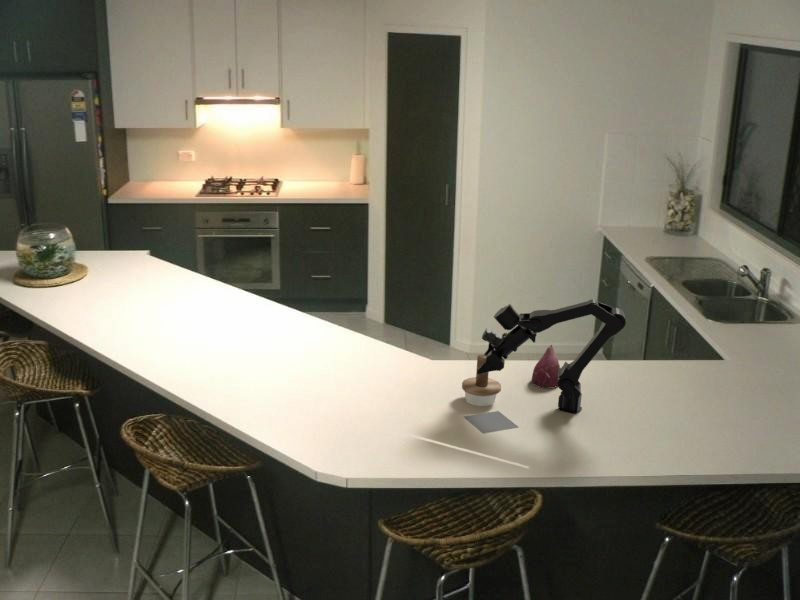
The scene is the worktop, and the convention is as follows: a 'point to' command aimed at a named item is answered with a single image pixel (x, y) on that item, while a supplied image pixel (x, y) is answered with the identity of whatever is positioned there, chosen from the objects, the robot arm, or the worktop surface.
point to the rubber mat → (490, 422)
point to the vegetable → (546, 370)
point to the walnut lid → (481, 382)
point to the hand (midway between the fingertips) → (478, 367)
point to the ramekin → (480, 399)
